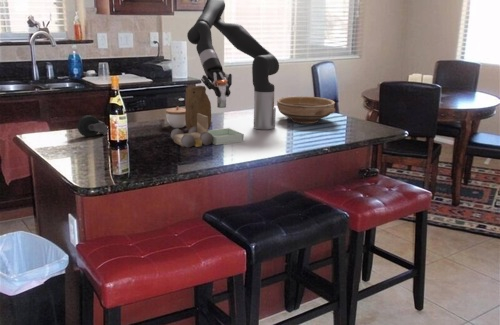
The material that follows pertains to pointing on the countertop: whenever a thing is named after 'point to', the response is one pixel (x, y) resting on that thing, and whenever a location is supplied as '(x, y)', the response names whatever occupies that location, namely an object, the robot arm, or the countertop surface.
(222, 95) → the copper topped glass grinder
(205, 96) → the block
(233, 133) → the tray
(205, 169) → the countertop surface
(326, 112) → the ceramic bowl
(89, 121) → the caster wheel
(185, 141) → the trolley
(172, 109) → the lidded jar
